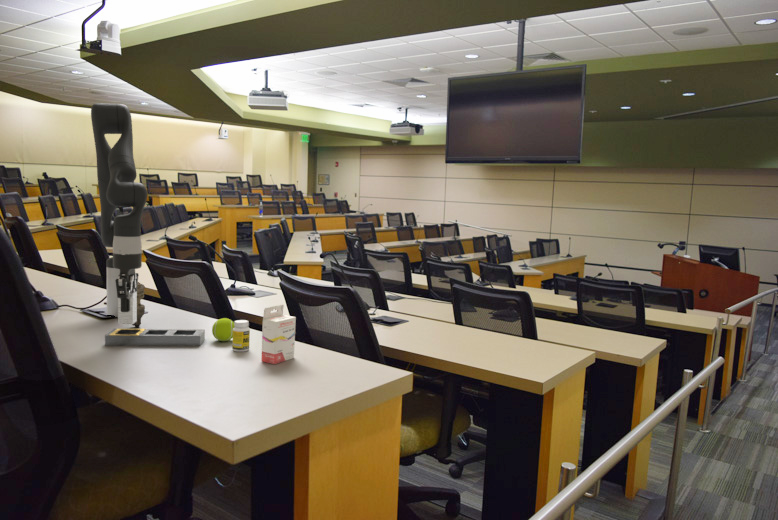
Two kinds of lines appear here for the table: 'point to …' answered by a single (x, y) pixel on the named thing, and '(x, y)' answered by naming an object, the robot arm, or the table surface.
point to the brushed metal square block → (132, 314)
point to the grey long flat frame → (155, 337)
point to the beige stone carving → (139, 304)
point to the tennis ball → (223, 329)
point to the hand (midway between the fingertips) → (127, 309)
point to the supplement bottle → (241, 336)
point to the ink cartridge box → (277, 335)
